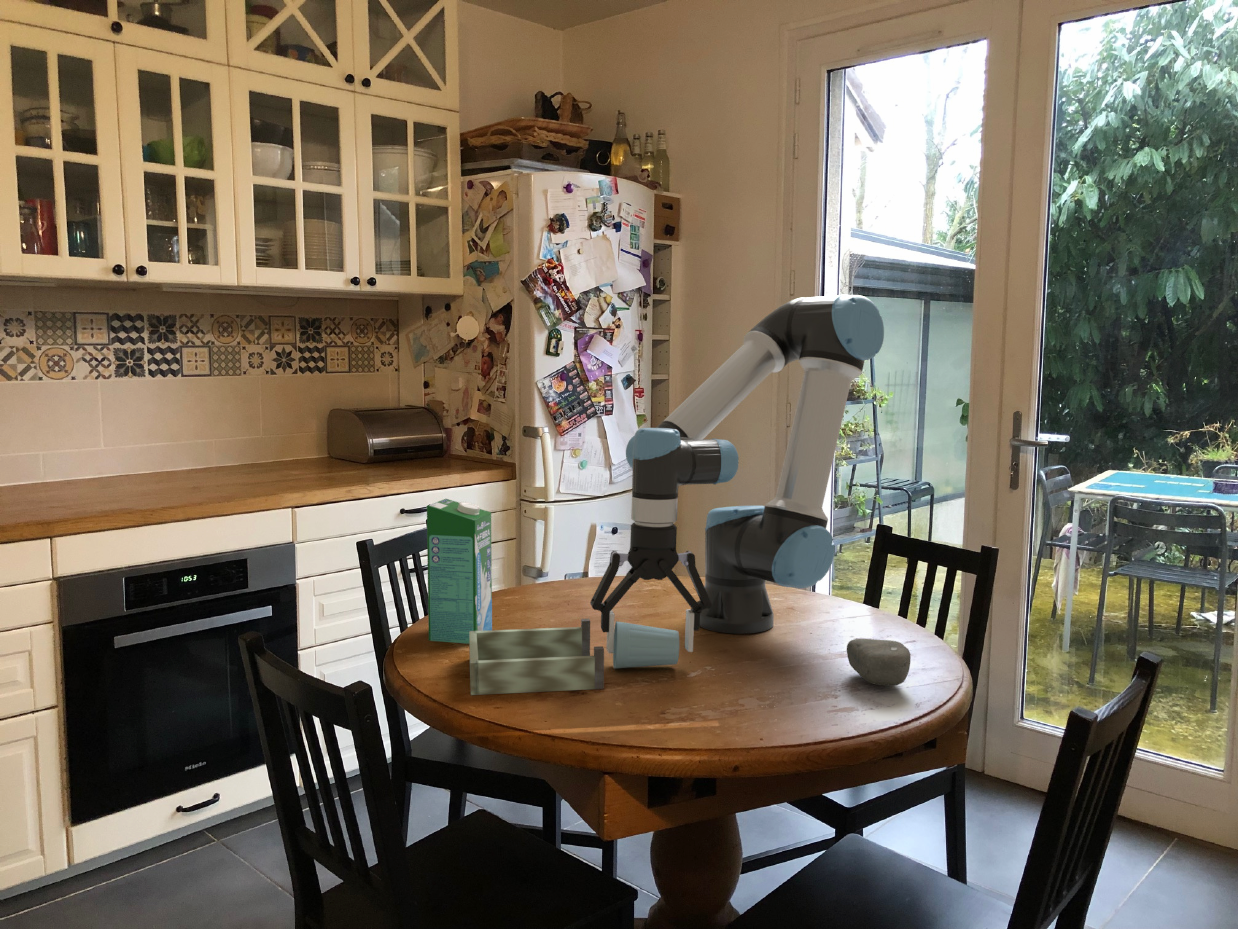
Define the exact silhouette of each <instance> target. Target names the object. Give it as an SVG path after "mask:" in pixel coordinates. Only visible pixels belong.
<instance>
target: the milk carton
mask: <svg viewBox="0 0 1238 929" xmlns="http://www.w3.org/2000/svg"><path fill="white" fill-rule="evenodd" d="M426 538H427V539H426V543H427V548H426V549H427V550H426V551H427V552H426V553H427V608H428V610H427V612H428V622H427V623H428V641H430V642H441V643H442V642H444V643H455V644H456V643H458V644H466V645H467V644H468V645H469V631H488V630H493V599H492V598H493V597H492V596H493V595H492V594H493V593H492V592H493V590H492V589H493V585H492V584H493V581H492V580H493V575H492V574H493V572H492V570H493V568H492V564H493V563H492V560H493V559H492V555H493V554H492V512H491V511H488V510H484V509H481V507H480V506H479V505H478V504H475V503H472V502H467V501H460V502H459V501H455V500H452V499H449V498H444V499H441V500H439V501H436V502H433V503H431V504H429V505H427V506H426Z"/></svg>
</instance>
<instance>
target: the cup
mask: <svg viewBox="0 0 1238 929" xmlns="http://www.w3.org/2000/svg"><path fill="white" fill-rule="evenodd" d="M679 654H680V634H679V631H678V630H675V629H669V628H668V629H667V628H662V627H656V626H648V625H644V624H643V625H642V624H638V623H637V624H635V623H630V622H623V621H615V622H614V650H613V653H612V663H613V669H627V668H628V669H629V668H639V667H640V668H641V667H655V666H656V667H657V666H673V665H677V664H678V662H679V657H680V655H679Z"/></svg>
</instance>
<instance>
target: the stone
mask: <svg viewBox="0 0 1238 929" xmlns="http://www.w3.org/2000/svg"><path fill="white" fill-rule="evenodd" d="M846 655H847V656H846V657H847V659H848V663H849V665H850V667H851V668H852V669H853V671H855V672H856V673H857V674H858V675H859V676H860V677H861V678H862V679H863V680H865V681H866V682H867V683H869V684H871V685H876V686H890V687H891V686H899V685H901V684H903V683H904V682H905V681H906V679H907V676H908V674H909V671H910V667H911V652H910V650H909V648H908V647H906V646H905V645H904V644H903V643H902V642H899V641H896V640H889V639H887V640H886V639H876V638H875V639H874V638H873V639H871V638H854V639H851V640H850V641H848V643H847V644H846Z"/></svg>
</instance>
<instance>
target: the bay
mask: <svg viewBox="0 0 1238 929" xmlns="http://www.w3.org/2000/svg"><path fill="white" fill-rule="evenodd" d="M468 646H469V680H470V681H469V686H470V695H471V696H479V695H498V694H499V695H500V694H504V695H505V694H519V693H520V694H521V693H541V692H560V691H561V692H562V691H583V690H586V691H587V690H604V689H605V648H604V646H593V655H591V619H590V618H581V619H580V626H572V627H571V626H570V627H569V626H568V627H546V628H545V627H544V628H521V629H520V628H519V629H517V628H516V629H496V630H495V629H494V630H493V629H492V630H488V631H469V644H468Z"/></svg>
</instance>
